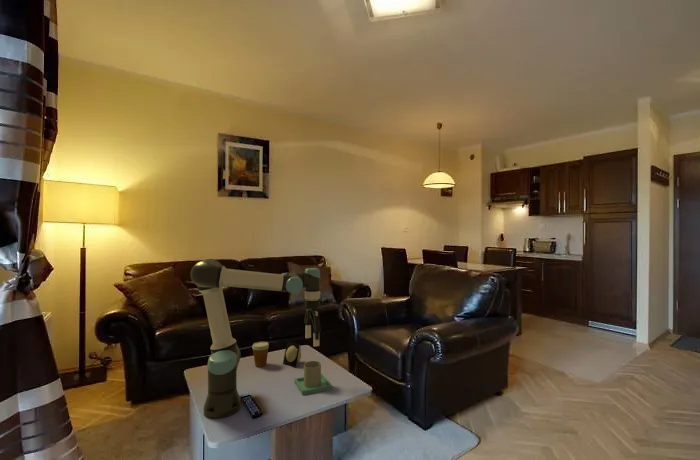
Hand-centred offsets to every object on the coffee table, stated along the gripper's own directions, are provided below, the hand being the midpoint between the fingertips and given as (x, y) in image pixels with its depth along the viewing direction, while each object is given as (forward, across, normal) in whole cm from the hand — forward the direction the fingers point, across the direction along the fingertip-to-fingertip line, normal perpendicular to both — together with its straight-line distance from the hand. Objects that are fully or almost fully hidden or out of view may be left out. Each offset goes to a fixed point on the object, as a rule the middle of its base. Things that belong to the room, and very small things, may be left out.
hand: (312, 341), depth 168 cm
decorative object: (+22, +31, +1) cm, 38 cm away
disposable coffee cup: (+22, +37, +19) cm, 47 cm away
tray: (+22, 0, 0) cm, 22 cm away
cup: (+21, 0, 0) cm, 21 cm away
